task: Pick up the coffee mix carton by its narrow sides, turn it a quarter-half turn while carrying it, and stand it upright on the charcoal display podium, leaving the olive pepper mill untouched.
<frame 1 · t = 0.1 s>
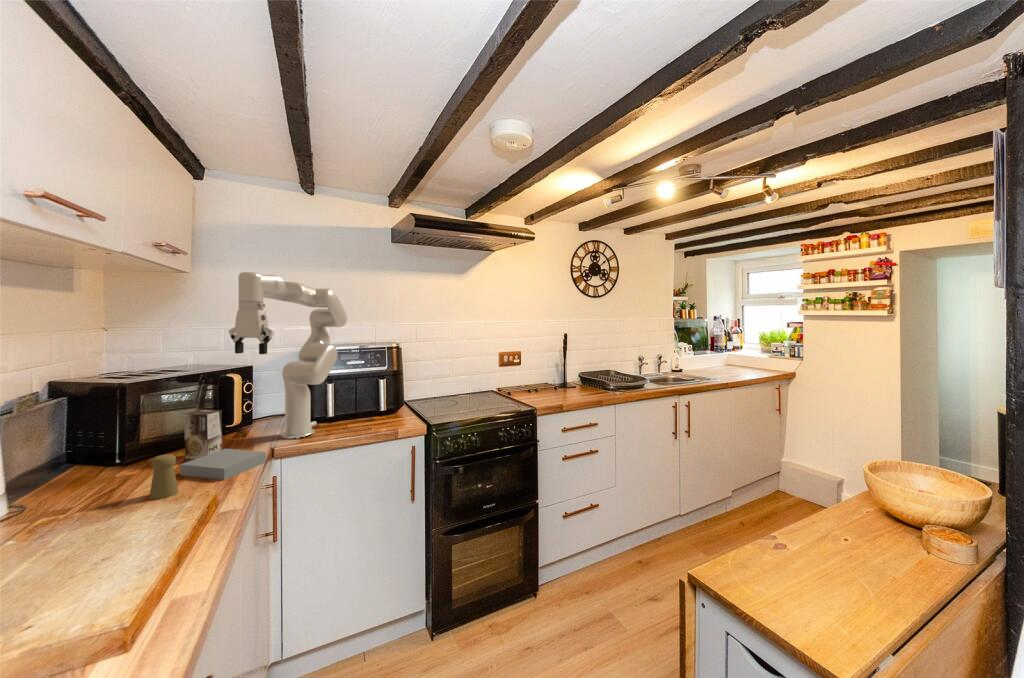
hand: (251, 353, 143), 37 cm above the worktop, tool pointing down, fingers open, 9 cm apart
podium: (225, 468, 129), on the worktop
coffee box: (203, 457, 139), on the worktop
olive pepper mill: (164, 495, 109), on the worktop
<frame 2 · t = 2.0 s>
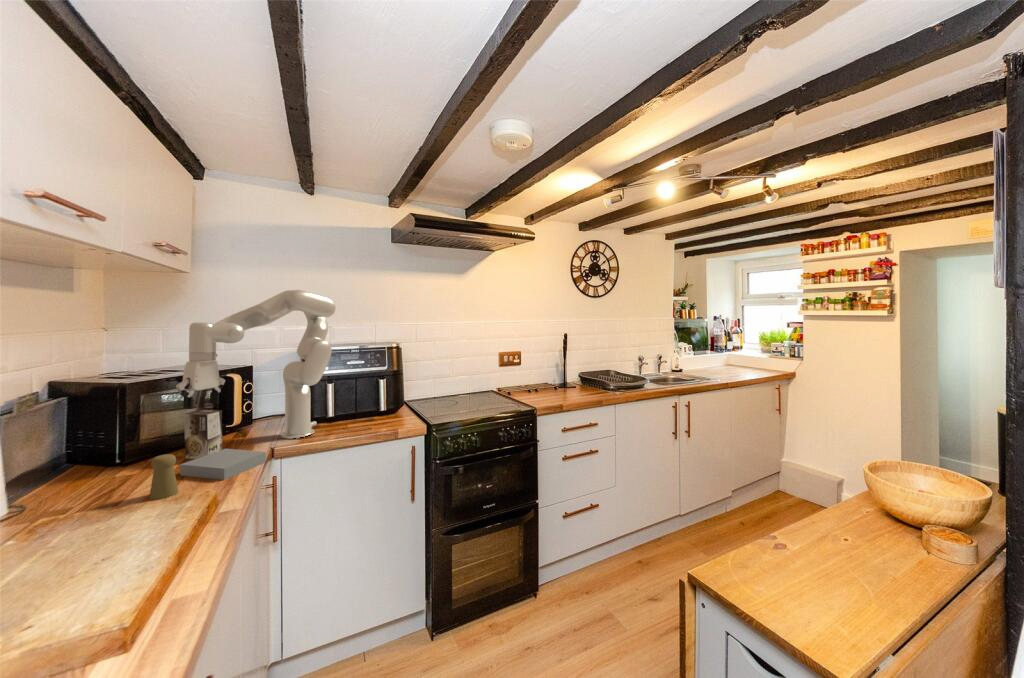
hand: (201, 405, 138), 18 cm above the worktop, tool pointing down, fingers open, 9 cm apart
nothing on the worktop moved.
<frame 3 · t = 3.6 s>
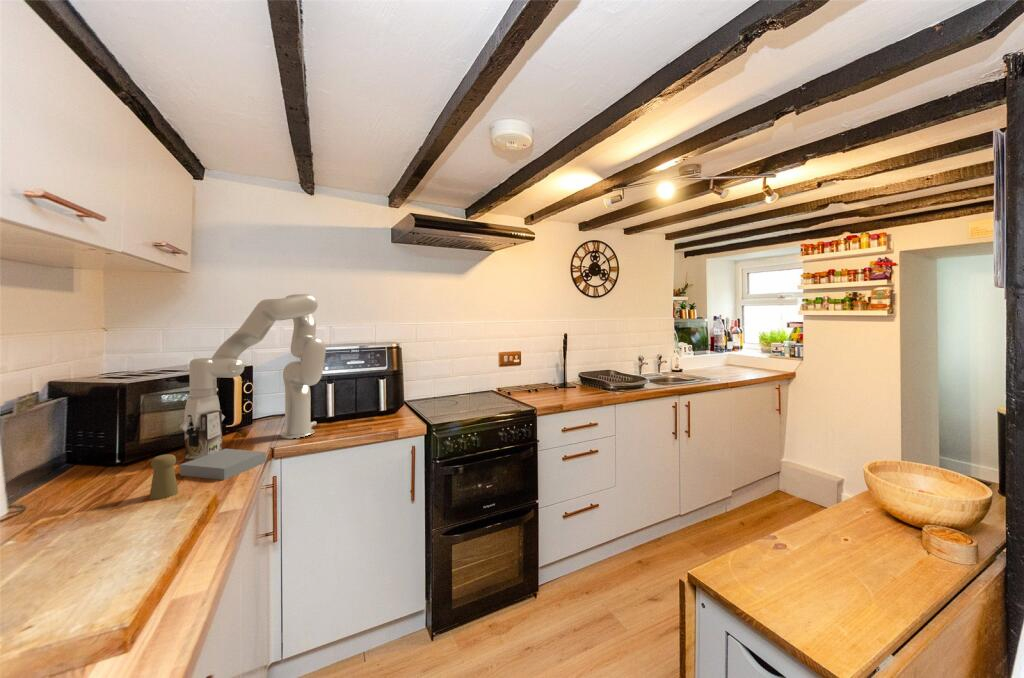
hand: (203, 442, 139), 5 cm above the worktop, tool pointing down, fingers closed on coffee box, 6 cm apart
coffee box: (203, 457, 139), on the worktop, touching gripper
everything else where it was.
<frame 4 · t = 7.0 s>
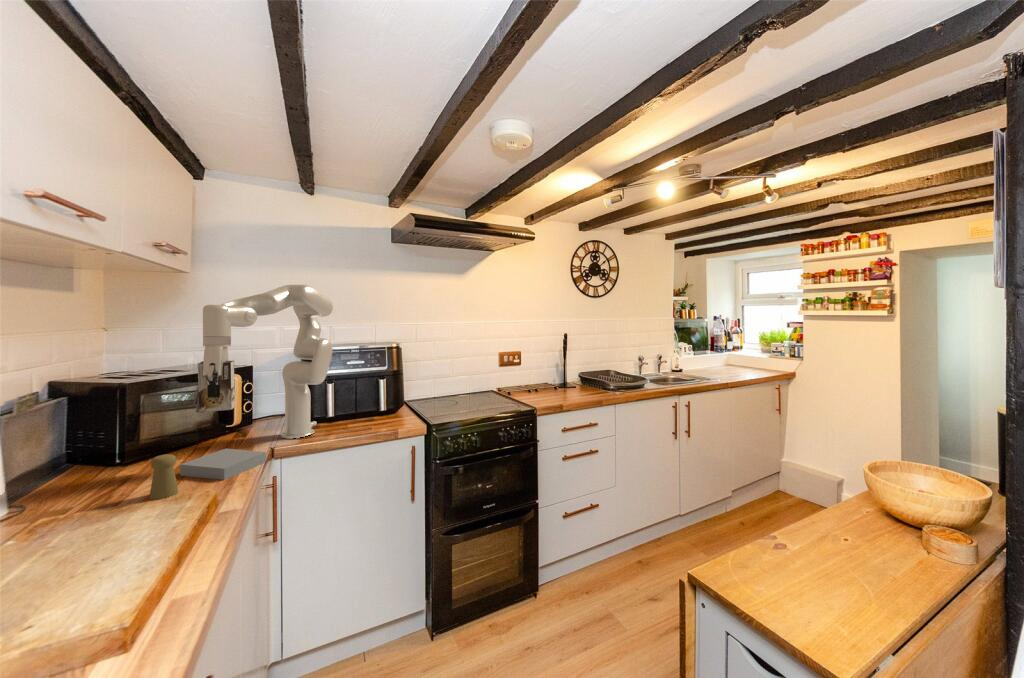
hand: (217, 394, 131), 24 cm above the worktop, tool pointing down, fingers closed on coffee box, 6 cm apart
coffee box: (217, 409, 131), point 19 cm above the worktop, touching gripper
everything else where it was.
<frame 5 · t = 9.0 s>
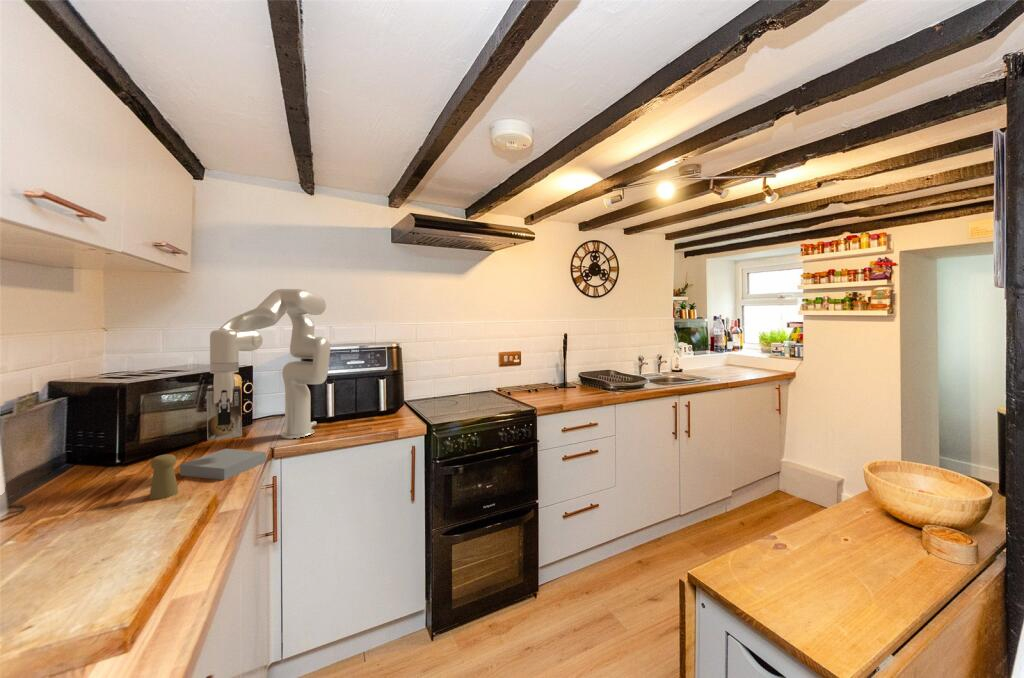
hand: (224, 421, 128), 16 cm above the worktop, tool pointing down, fingers closed on coffee box, 6 cm apart
coffee box: (224, 437, 128), point 10 cm above the worktop, touching gripper
everything else where it was.
when the fingers open (10 cm above the worktop, at t = 10.6 s): coffee box drops 1 cm, resting on podium.
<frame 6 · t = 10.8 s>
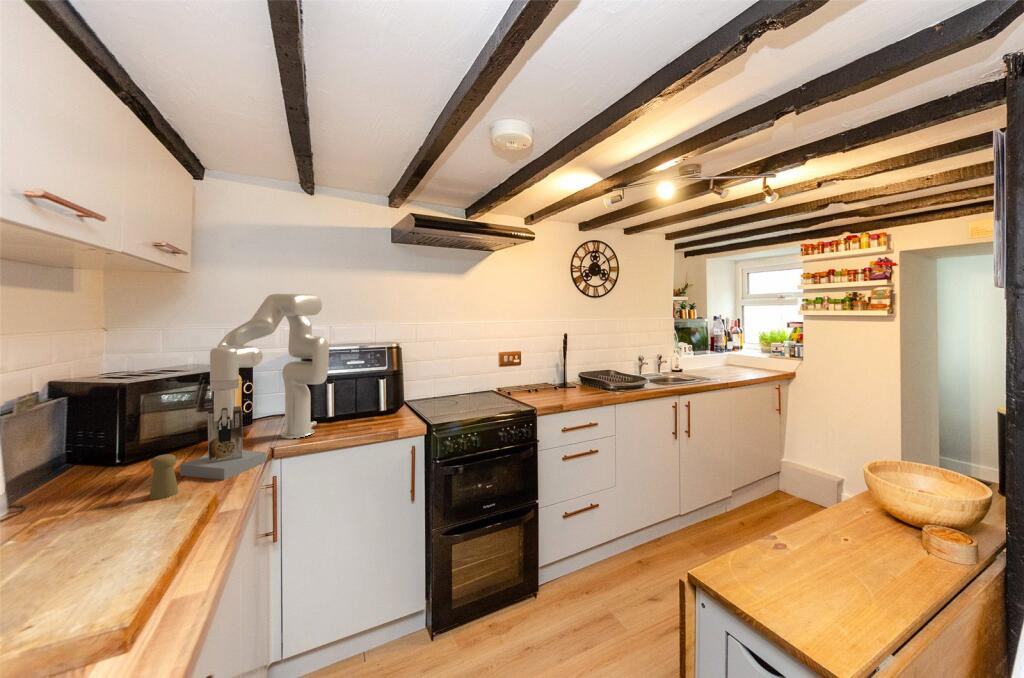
hand: (225, 437, 128), 10 cm above the worktop, tool pointing down, fingers open, 8 cm apart
coffee box: (225, 458, 129), point 3 cm above the worktop, touching podium
everything else where it was.
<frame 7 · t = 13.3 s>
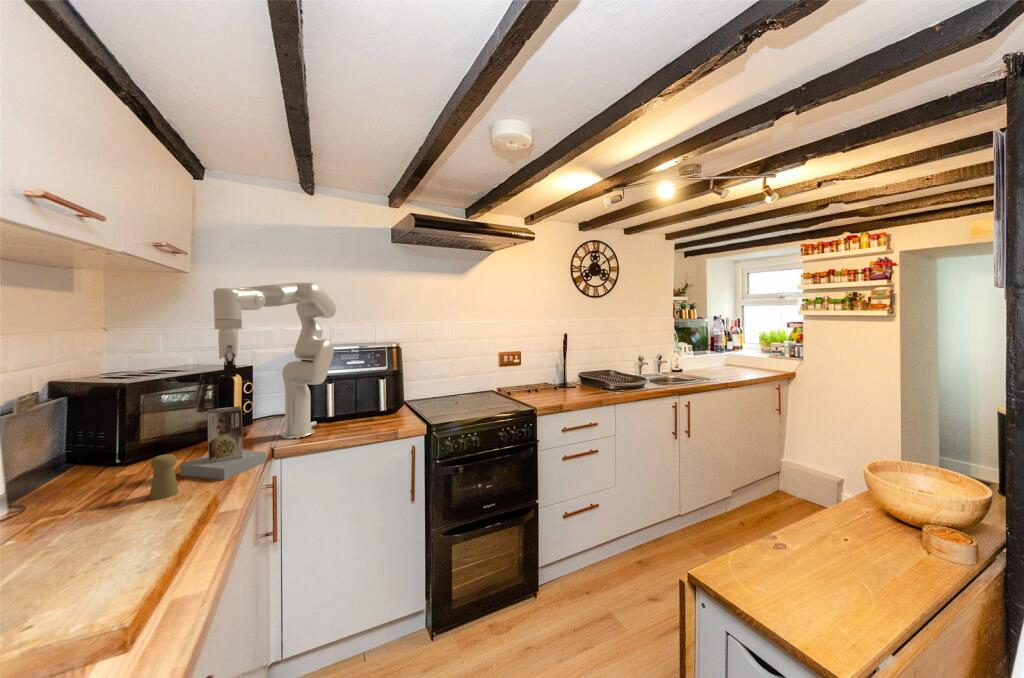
hand: (230, 374, 133), 30 cm above the worktop, tool pointing down, fingers open, 9 cm apart
nothing on the worktop moved.
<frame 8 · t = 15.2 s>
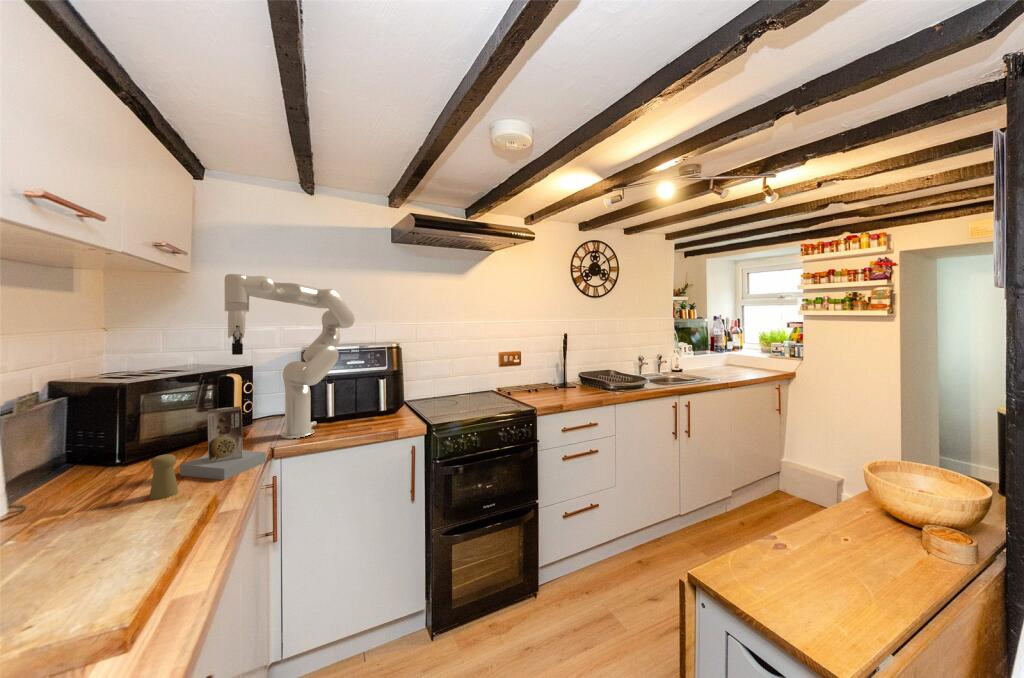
hand: (237, 353, 146), 36 cm above the worktop, tool pointing down, fingers open, 9 cm apart
nothing on the worktop moved.
at the end: coffee box inside the target area on the podium (0.3 cm from its centre), point 3.3 cm above the podium's base; coffee box tilted 0°; the gripper is holding nothing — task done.
